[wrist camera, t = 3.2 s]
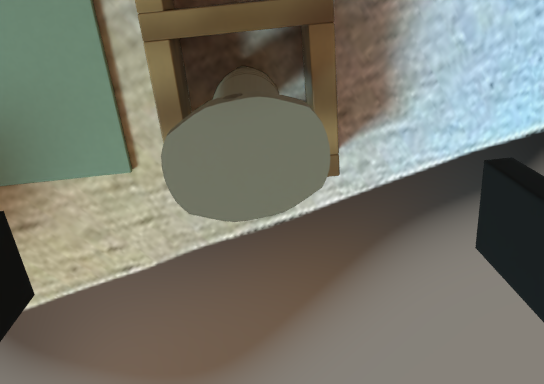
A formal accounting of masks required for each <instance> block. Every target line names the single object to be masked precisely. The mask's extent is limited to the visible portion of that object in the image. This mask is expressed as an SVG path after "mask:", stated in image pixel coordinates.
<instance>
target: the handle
mask: <svg viewBox="0 0 544 384" xmlns="http://www.w3.org/2000/svg"><path fill="white" fill-rule="evenodd" d="M161 159H162V170H163V174H164V178H165V181H166V184H167V186H168V189H169V191H170V193H171V194H172V196H173V198H174V199H175V201H176V202H177V203H178V204H179V205H180V206H181V207H182V208H183V209H184V210H185V211H187V212H188V213H189V214H192V215H197V216H201V217H206V218H211V219H216V220H222V221H231V222H238V221H248V220H253V219H258V218H263V217H268V216H272V215H276V214H279V213H282V212H285V211H287V210H289V209H291V208H292V207H294V206H296V205H297V204H299V203H300V202H302V201H303V200H305V199H306V198H308V197H309V196H311V195H312V194H313V193H315V192H316V191H318V190H319V189H321V188H322V186H323V184H324V182H325V180H326V178H327V175H328V172H329V167H330V146H329V141H328V137H327V133H326V131H325V129H324V126H323V124H322V122H321V120H320V119H319V117H318V116H317V114H316V113H315V112H314V110H313V109H312V108H311V107H310V106H309V105H308V104H307V103H306V102H305V101H302V100H298V99H295V98H291V97H287V96H283V95H279V92H278V90H277V88H276V86H275V84H274V83H273V81H272V80H271V79H270V78H269V77H268V76H267V75H266V74H265V73H263V72H261V71H259V70H257V69H253V68H248V67H247V66H241V67H238V68H237V69H236V70H235V71H232V72H231V73H230V74H228V75H227V76H226V77H225V78H224V79H223V80H222V81H221V83H220V84H219V85H218V87H217V89H216V91H215V94H214V97H213V100H210V101H208V102H206V103H205V104H203V105H202V106H200V107H199V108H197V109H196V110H195V111H193V112H192V113H191V114H189V115H188V116H187V117H185V118H184V119H183V120H182V121H180V122H179V123H178V124H177V125H176V126H174V127H173V128H172V129H171V130H170V131H169V133H168V134H167V136H166V138H165V141H164V144H163V149H162V154H161Z"/></svg>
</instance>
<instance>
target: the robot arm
mask: <svg viewBox="0 0 544 384" xmlns="http://www.w3.org/2000/svg"><path fill="white" fill-rule="evenodd" d="M476 249H477V250H478V251H479V252H480V253H481V254H482V255H483V256H484V258H485V259H486V260H487V261H488V262H489V263H490V264H491V265H492V266H493V267H494V268H495V270H496V271H497V272H498V273H499V274H500V275H501V276H502V277H503V278H504V279H505V280H506V281H507V283H508V284H509V285H510V286H511V287H512V288H513V289H514V290H515V291H516V293H517V294H519V296H520V297H521V298H522V299H523V300H524V301H525V302H526V303H527V305H528V306H529V307H530V308H531V309H532V310H533V311H534V312H535V313H536V314H537V315H538V317H539V318H540V319H541V320H542V321H543V322H544V176H542V175H541V174H539V173H537V172H536V171H534V170H532V169H531V168H529V167H527V166H526V165H524V164H522V163H521V162H519V161H517V160H516V159H514V158H502V159H493V160H485V161H484V169H483V179H482V189H481V200H480V209H479V219H478V229H477V239H476ZM34 295H35V294H34V292H33V289H32V286H31V284H30V281H29V278H28V275H27V273H26V270H25V267H24V265H23V262H22V259H21V257H20V254H19V251H18V249H17V246H16V243H15V240H14V238H13V235H12V232H11V230H10V227H9V224H8V222H7V219H6V216H5V213H4V211H0V341H1V340H2V339H3V337H4V336H5V335H6V333H7V331H8V330H9V329H10V328H11V326H12V325H13V323H14V322H15V321H16V320H17V318H18V317H19V315H20V314H21V313H22V311H23V310H24V309H25V307H26V306H27V304H28V303H29V302H30V300H31V299H32V298H33V296H34Z"/></svg>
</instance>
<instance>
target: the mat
mask: <svg viewBox="0 0 544 384" xmlns="http://www.w3.org/2000/svg"><path fill="white" fill-rule="evenodd" d="M129 172H132V167H131V162H130V158H129V154H128V150H127V145H126V141H125V137H124V133H123V128H122V124H121V120H120V116H119V111H118V107H117V103H116V99H115V94H114V90H113V86H112V82H111V77H110V73H109V69H108V65H107V60H106V56H105V52H104V48H103V43H102V39H101V35H100V31H99V26H98V22H97V18H96V14H95V9H94V5H93V1H92V0H0V186H6V185H16V184H25V183H35V182H44V181H54V180H63V179H72V178H82V177H91V176H101V175H110V174H120V173H129Z"/></svg>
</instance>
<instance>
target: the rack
mask: <svg viewBox="0 0 544 384" xmlns="http://www.w3.org/2000/svg"><path fill="white" fill-rule="evenodd" d="M135 3H136V8H137V12H138V13H139V14H138V18H139V23H140V28H141V33H142V38H143V41H144V48H145V53H146V58H147V63H148V68H149V73H150V78H151V83H152V88H153V93H154V98H155V103H156V108H157V113H158V118H159V123H160V128H161V133H162V138H163V143H164V141H165V138H166V136H167V134H168V133H169V131H170V130H171V129H172V128H173V127H174V126H176V125H177V124H178V123H179V122H180V121H182V120H183V119H184V118H185V117H187V116H188V115H189V114H191V113H192V110H191V104H190V98H189V92H188V86H187V80H186V74H185V69H184V63H183V57H182V51H181V45H180V39H179V38H185V37H195V36H205V35H214V34H224V33H234V32H243V31H253V30H263V29H272V28H282V27H292V26H301V29H302V45H303V61H304V77H305V93H306V103H307V104H308V105H309V106H310V107H311V108H312V109H313V110H314V112H315V113H316V114H317V116H318V117H319V119H320V120H321V122H322V124H323V126H324V129H325V131H326V133H327V137H328V141H329V146H330V167H329V172H328V175H327V177H329V176H338V175H339V174H340V170H339V154H338V153H339V142H338V114H337V85H336V57H335V28H334V23H333V22H334V0H260V1H251V2H241V3H231V4H222V5H212V6H202V7H192V8H183V9H174V3H173V0H135Z"/></svg>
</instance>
